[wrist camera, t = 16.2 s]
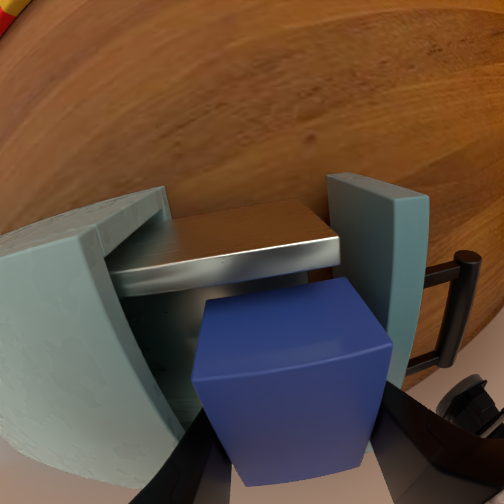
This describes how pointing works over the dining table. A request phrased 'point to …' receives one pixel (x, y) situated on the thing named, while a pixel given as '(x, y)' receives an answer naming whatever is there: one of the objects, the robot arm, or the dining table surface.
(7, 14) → the popsicle
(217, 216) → the drawer
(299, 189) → the dining table surface
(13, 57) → the dining table surface
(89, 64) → the dining table surface
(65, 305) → the cabinet
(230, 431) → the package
